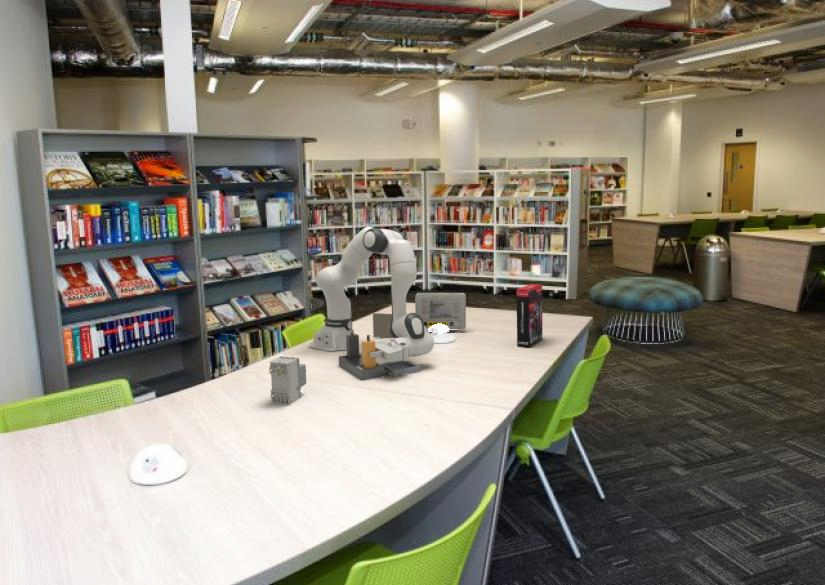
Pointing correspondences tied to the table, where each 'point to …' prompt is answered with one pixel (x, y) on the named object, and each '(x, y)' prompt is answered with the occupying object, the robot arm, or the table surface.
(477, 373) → the table surface
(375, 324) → the laptop
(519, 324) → the graphics card box
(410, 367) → the tray
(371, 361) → the plug
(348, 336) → the twin plug
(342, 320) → the robot arm
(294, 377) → the circuit breaker
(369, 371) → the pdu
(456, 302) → the network device
